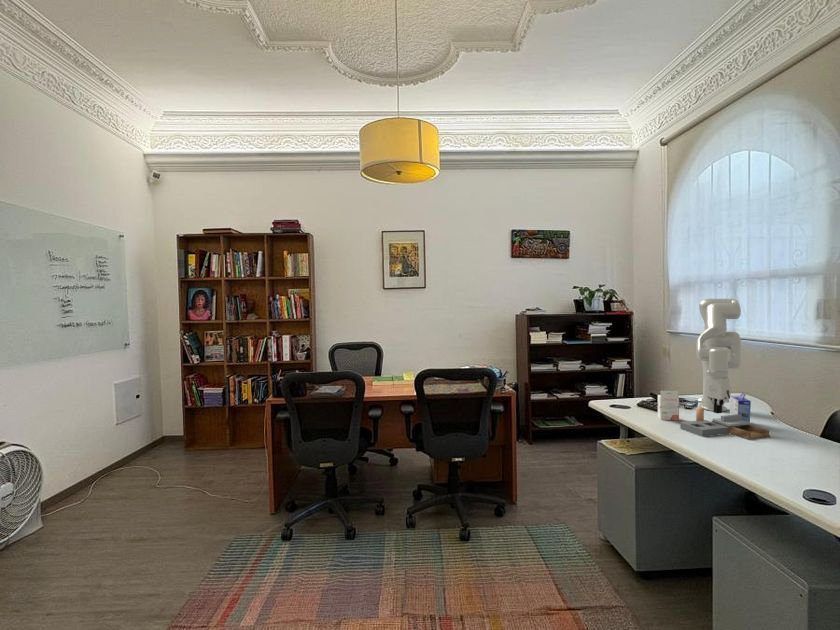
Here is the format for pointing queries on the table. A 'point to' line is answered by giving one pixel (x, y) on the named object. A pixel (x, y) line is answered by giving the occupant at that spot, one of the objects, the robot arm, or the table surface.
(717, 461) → the table surface
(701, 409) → the peg
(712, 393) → the robot arm
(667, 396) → the ink cartridge box
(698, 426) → the socket board
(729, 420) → the lid
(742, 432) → the box
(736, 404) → the ink cartridge box
